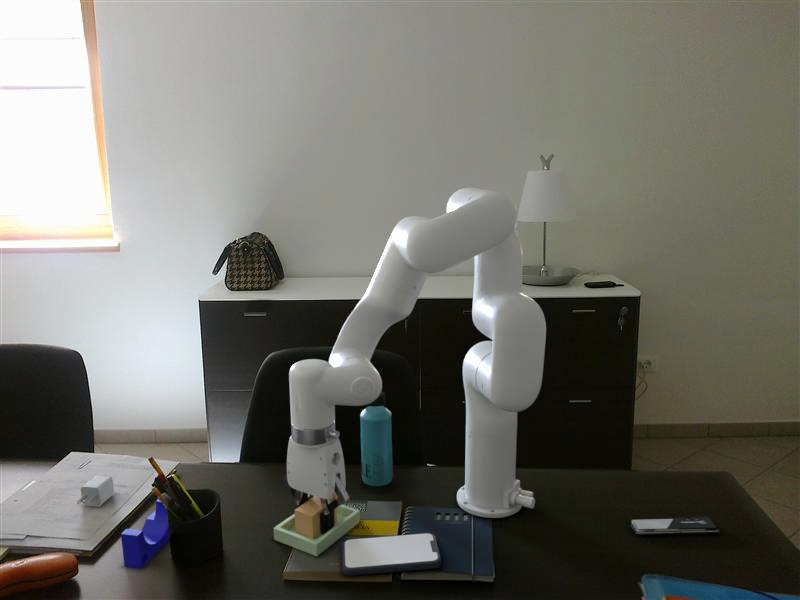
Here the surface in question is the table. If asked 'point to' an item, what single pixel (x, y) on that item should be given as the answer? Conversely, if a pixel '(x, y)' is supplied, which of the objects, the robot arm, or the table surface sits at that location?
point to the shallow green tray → (316, 546)
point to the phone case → (390, 554)
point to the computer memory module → (673, 526)
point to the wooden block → (310, 518)
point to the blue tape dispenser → (146, 538)
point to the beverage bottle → (376, 443)
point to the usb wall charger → (96, 491)
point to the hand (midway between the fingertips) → (316, 525)
